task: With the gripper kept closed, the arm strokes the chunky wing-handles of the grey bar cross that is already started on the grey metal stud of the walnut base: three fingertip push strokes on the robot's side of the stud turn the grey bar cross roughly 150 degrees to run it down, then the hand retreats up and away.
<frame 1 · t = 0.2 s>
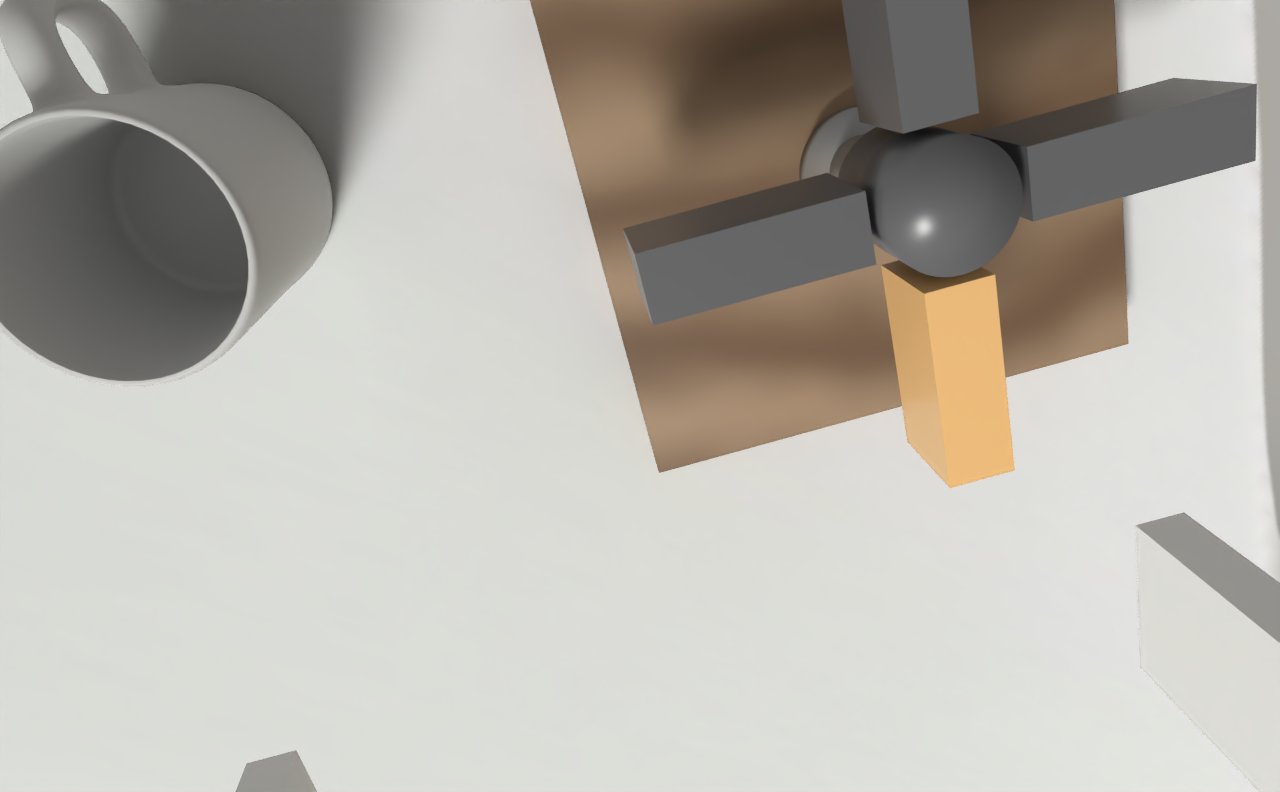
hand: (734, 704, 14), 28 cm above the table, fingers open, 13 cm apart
stud base: (841, 161, 39), on the table
mug: (205, 151, 36), on the table
grey bar cross: (923, 195, 31), point 9 cm above the table, hinge at 0.0°
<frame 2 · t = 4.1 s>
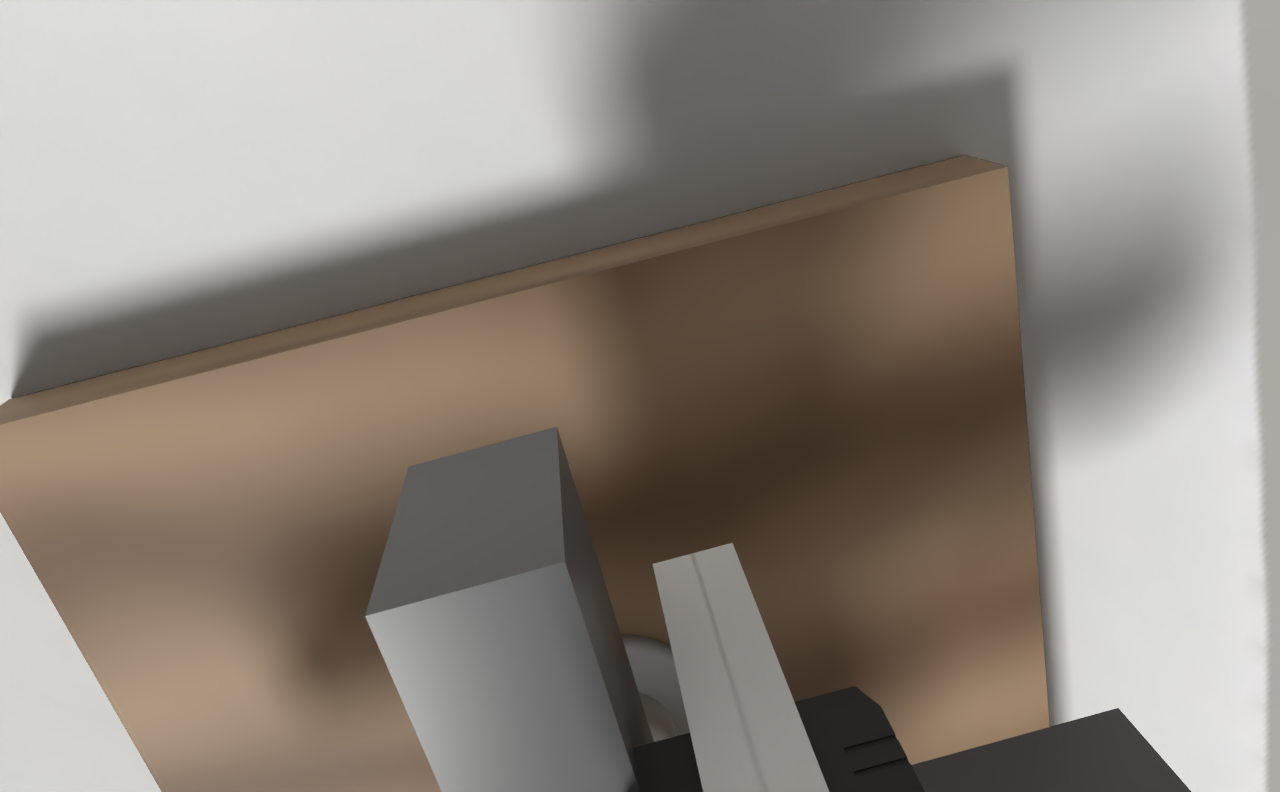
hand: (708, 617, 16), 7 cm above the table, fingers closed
stud base: (608, 663, 25), on the table
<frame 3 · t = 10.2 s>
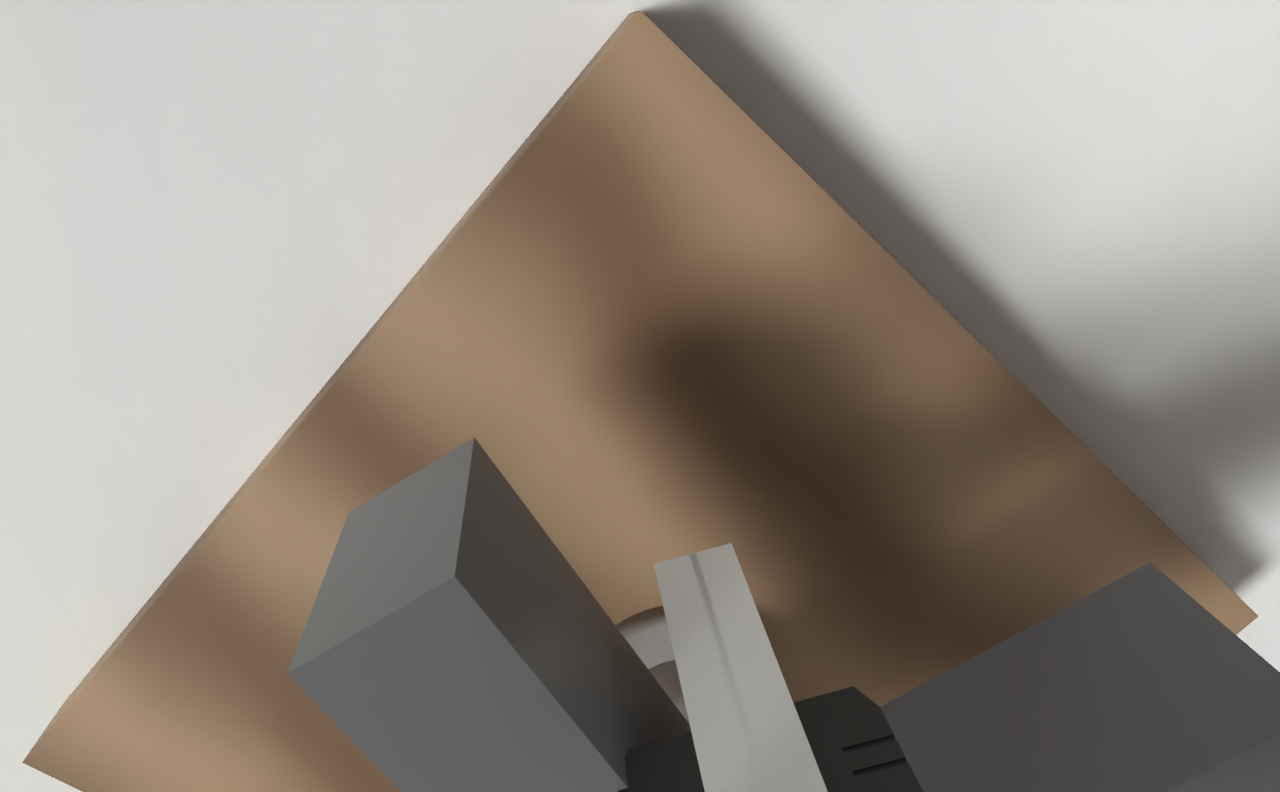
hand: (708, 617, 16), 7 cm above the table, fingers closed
stud base: (663, 636, 25), on the table
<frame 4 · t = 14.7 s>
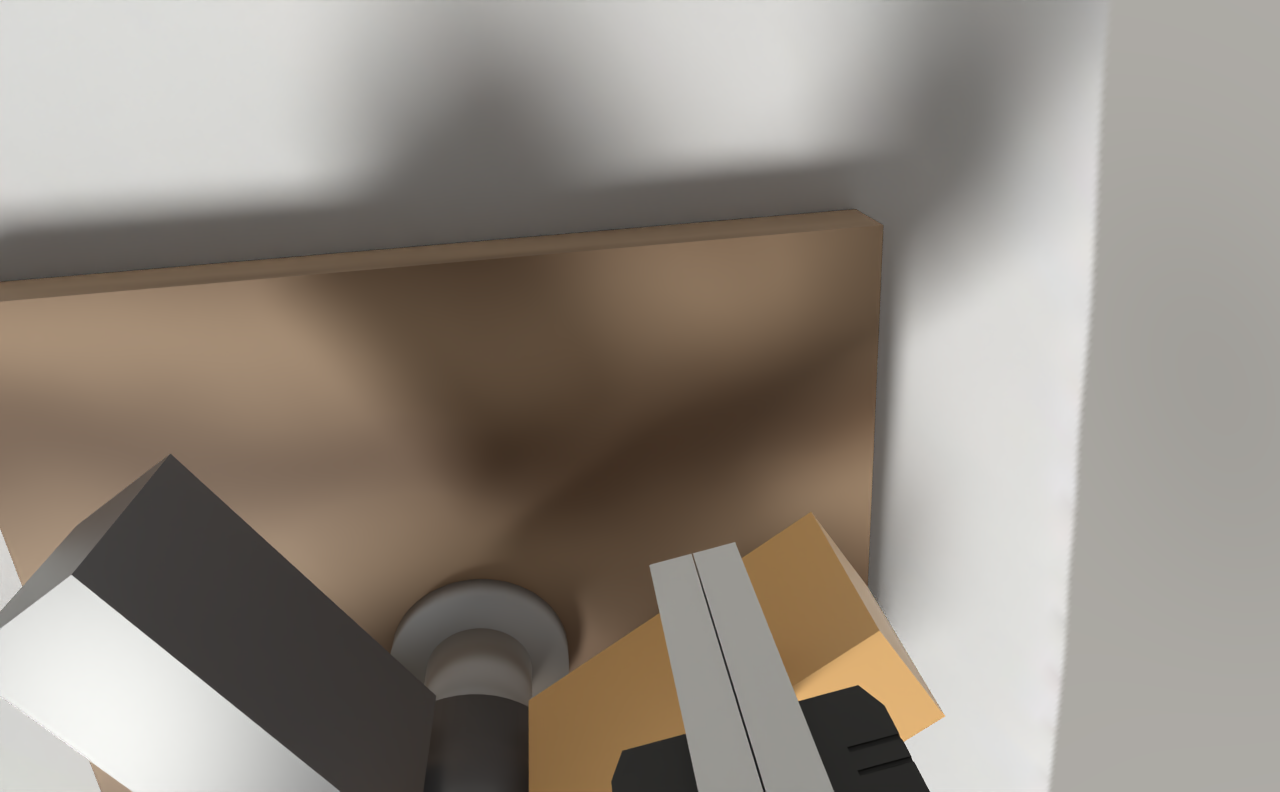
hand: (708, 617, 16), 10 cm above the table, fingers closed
stud base: (484, 609, 27), on the table
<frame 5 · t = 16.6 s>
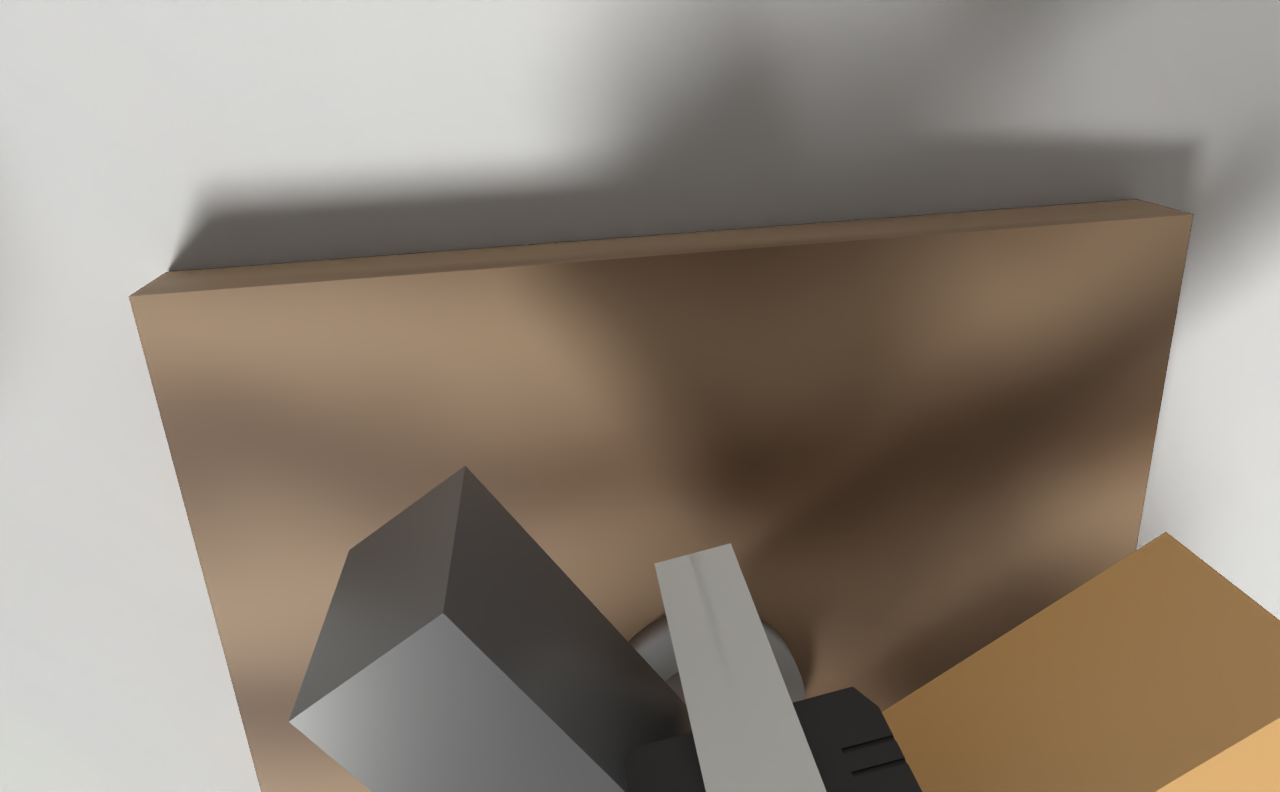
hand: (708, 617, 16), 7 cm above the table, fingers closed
stud base: (688, 639, 25), on the table
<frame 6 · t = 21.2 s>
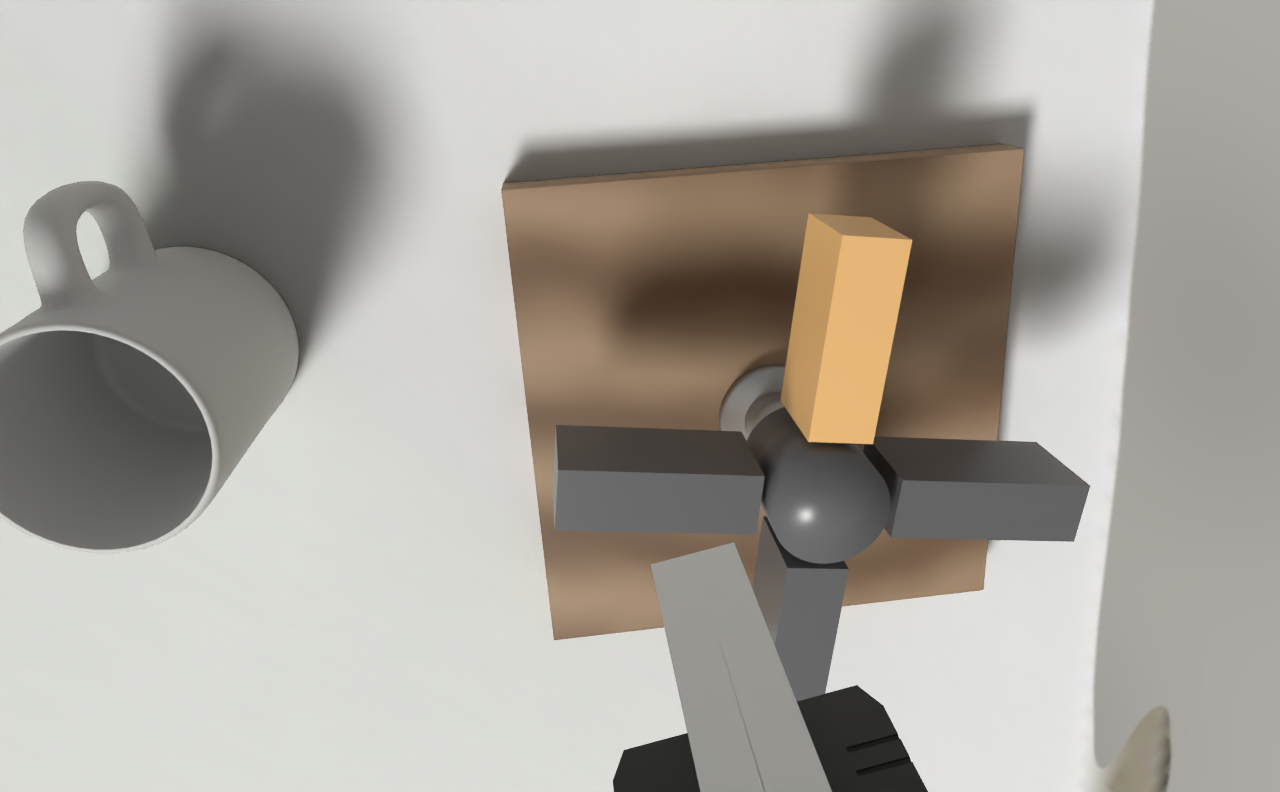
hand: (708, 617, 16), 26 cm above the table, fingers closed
stud base: (760, 397, 44), on the table
mug: (188, 301, 39), on the table
grey bar cross: (812, 480, 36), point 9 cm above the table, hinge at 171.6°
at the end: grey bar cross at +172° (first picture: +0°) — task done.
